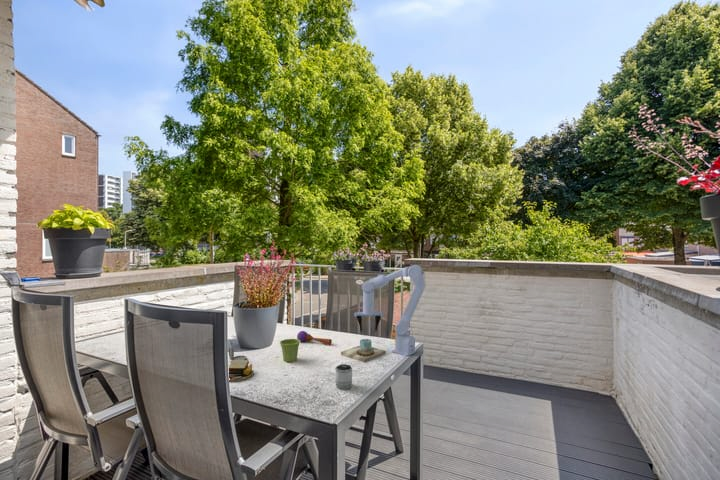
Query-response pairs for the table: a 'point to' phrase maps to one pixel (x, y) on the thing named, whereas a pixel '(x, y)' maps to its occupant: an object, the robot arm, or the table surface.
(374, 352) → the gear board
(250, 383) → the table surface
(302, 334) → the kendama
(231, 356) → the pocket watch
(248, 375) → the toy sandwich meal
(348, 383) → the camera lens
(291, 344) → the plant pot
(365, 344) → the teal faceted ring
